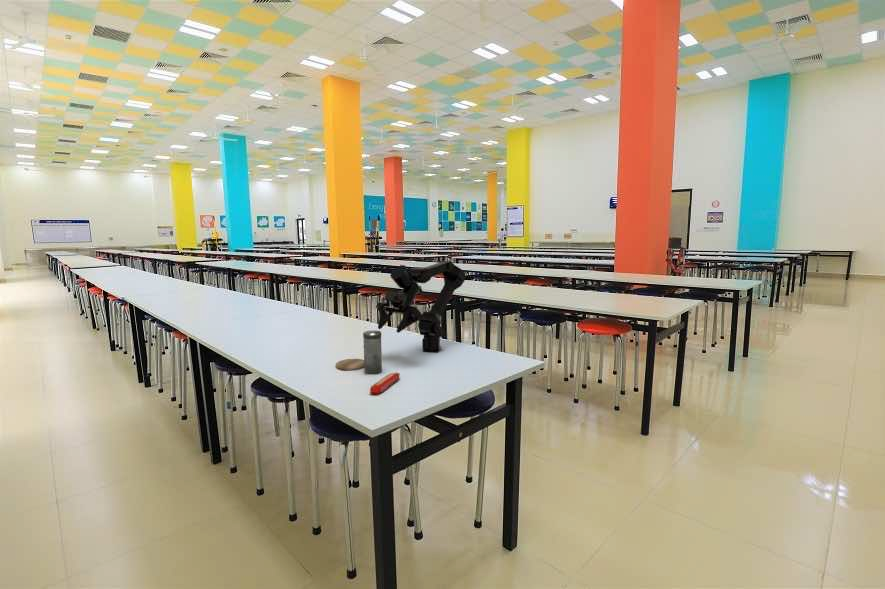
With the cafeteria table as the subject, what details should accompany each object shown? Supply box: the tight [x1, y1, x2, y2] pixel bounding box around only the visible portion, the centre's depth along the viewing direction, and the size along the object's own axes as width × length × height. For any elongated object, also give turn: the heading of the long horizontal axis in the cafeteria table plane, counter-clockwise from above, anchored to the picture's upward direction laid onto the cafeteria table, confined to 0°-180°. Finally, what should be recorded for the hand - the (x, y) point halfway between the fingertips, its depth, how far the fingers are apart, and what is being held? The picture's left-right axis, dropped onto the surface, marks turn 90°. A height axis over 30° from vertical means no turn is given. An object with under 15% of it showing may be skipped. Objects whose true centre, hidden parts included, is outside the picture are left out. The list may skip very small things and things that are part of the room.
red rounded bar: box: [369, 372, 401, 395], centre depth 135 cm, size 16×4×3 cm, turn 161°
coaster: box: [335, 358, 364, 372], centre depth 155 cm, size 11×11×1 cm
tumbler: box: [362, 330, 383, 376], centre depth 148 cm, size 6×6×14 cm
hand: (387, 330), depth 153 cm, fingers open, 9 cm apart
